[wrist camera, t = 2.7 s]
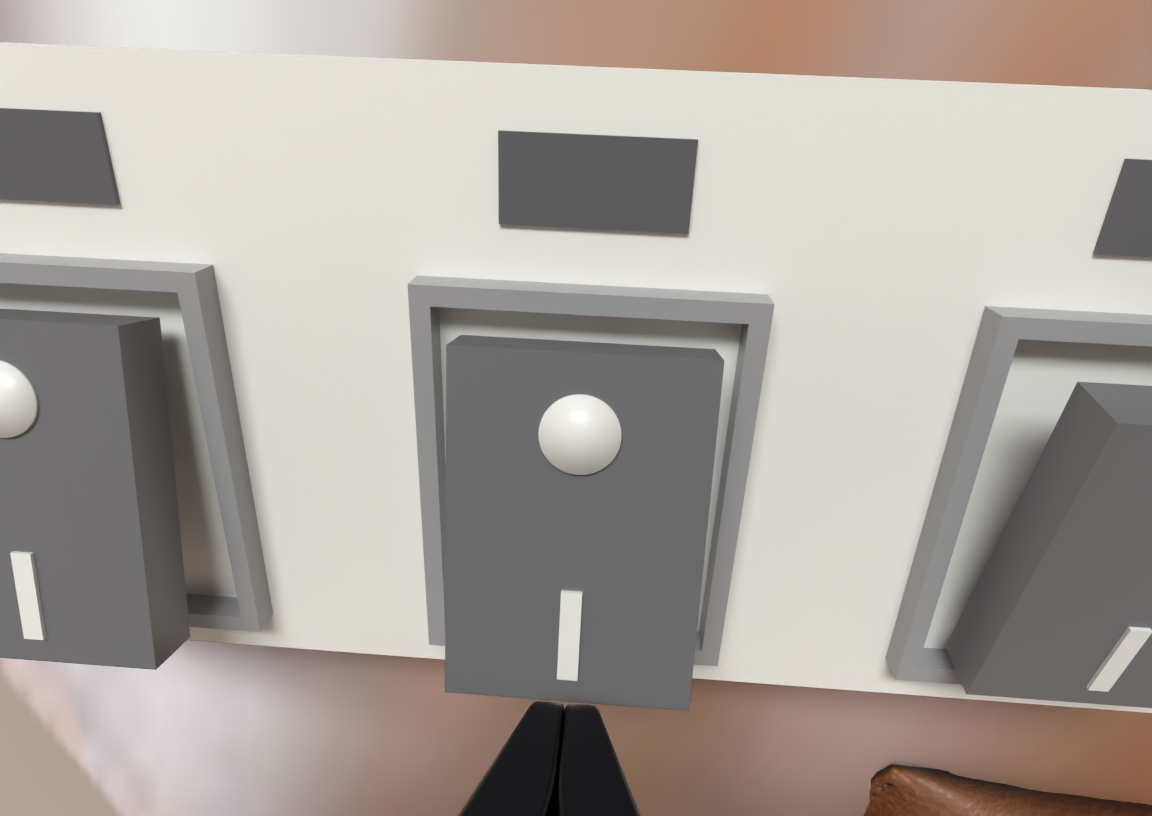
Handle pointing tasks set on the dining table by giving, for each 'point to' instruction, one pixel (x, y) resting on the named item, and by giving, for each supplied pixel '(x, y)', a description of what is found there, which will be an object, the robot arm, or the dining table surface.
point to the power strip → (591, 314)
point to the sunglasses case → (977, 797)
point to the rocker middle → (576, 517)
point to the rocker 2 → (1072, 566)
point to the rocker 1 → (87, 492)
